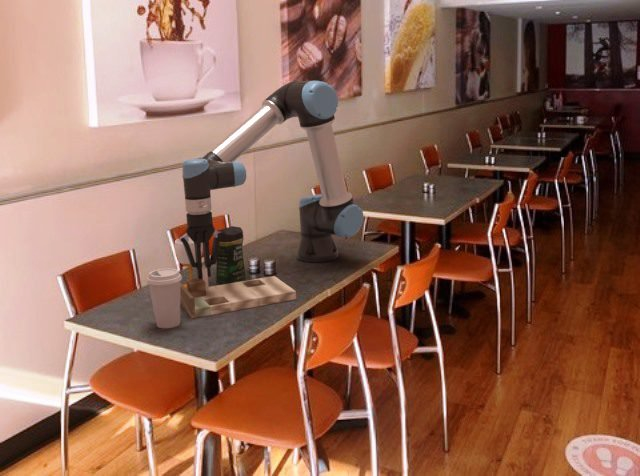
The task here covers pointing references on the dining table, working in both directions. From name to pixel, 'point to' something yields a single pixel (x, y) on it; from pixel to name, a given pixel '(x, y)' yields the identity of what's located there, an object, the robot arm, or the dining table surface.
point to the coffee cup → (165, 296)
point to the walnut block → (196, 287)
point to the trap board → (236, 296)
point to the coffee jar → (230, 256)
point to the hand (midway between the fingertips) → (205, 287)
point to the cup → (183, 256)
